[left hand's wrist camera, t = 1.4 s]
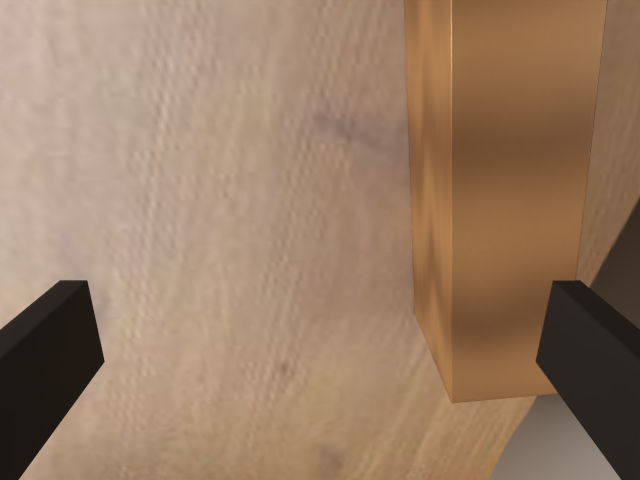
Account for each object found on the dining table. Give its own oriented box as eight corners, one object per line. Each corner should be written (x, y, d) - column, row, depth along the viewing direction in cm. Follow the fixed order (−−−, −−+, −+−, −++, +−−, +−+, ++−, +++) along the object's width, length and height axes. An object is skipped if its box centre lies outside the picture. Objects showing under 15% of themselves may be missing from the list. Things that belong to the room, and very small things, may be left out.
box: (496, 306, 33) (564, 393, 24) (414, 314, 33) (451, 404, 24) (515, -147, 23) (640, -282, 14) (399, -132, 24) (450, -256, 15)
